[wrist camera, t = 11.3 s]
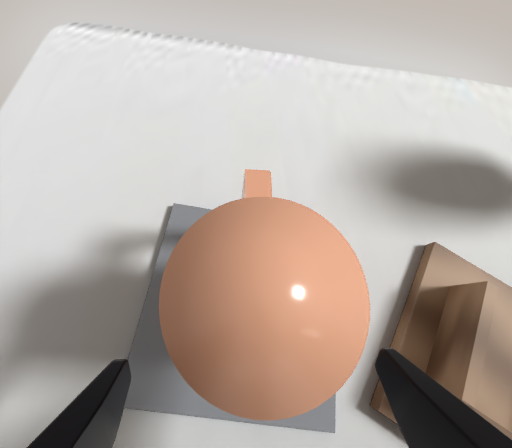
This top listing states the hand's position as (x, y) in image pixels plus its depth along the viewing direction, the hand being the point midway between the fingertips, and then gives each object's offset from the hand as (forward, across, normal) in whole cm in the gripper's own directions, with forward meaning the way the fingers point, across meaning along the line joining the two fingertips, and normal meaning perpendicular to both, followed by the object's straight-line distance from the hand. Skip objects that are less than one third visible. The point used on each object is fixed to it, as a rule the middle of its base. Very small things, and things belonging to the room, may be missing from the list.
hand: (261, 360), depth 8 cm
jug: (+9, 0, +4) cm, 10 cm away
